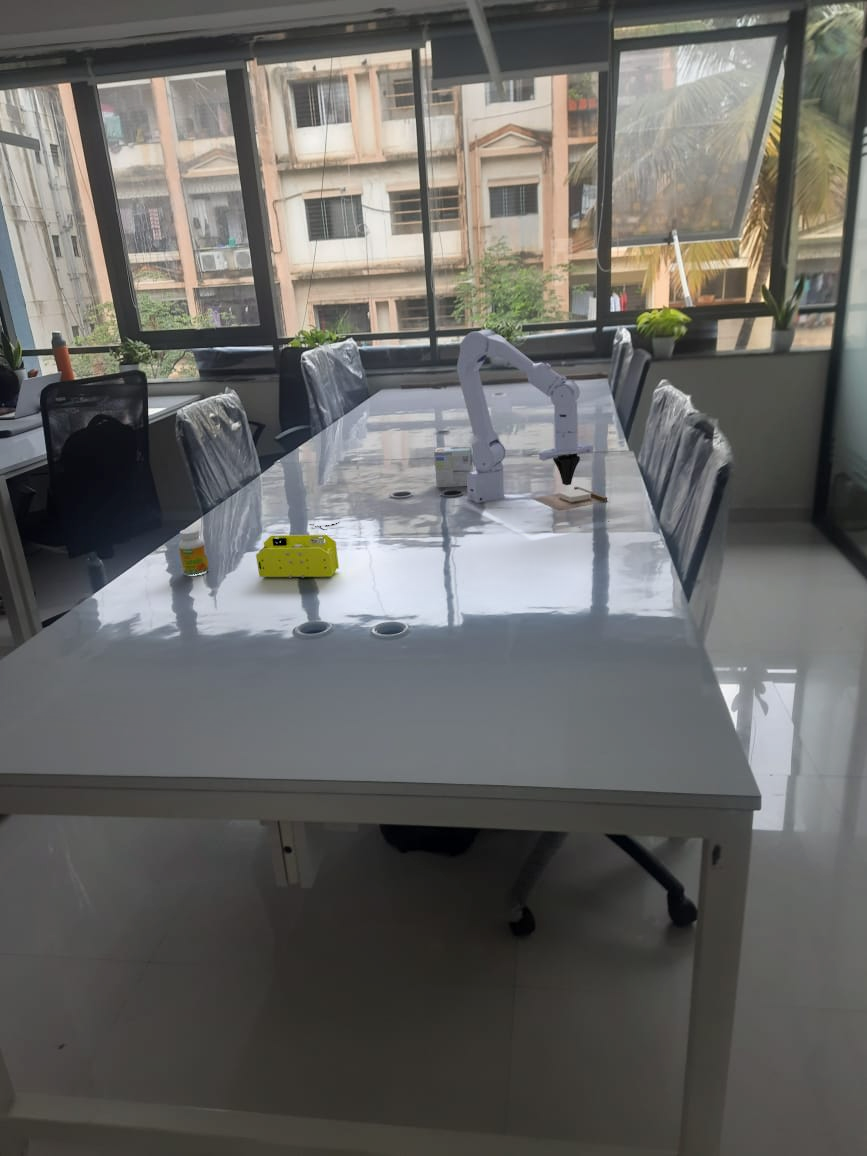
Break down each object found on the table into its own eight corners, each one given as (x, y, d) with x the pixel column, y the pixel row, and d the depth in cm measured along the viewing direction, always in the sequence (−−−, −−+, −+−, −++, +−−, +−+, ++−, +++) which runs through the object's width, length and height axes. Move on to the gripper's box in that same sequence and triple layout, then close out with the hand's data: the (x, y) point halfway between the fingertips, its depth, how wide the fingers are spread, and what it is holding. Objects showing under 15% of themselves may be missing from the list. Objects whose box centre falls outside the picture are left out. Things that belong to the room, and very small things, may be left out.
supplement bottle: (184, 578, 171) (175, 535, 168) (184, 571, 176) (176, 529, 172) (209, 574, 172) (201, 532, 169) (209, 567, 177) (201, 525, 174)
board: (559, 514, 196) (559, 506, 195) (531, 502, 208) (531, 494, 207) (607, 505, 201) (607, 497, 200) (577, 494, 213) (577, 486, 212)
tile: (570, 497, 200) (591, 493, 202) (558, 492, 206) (578, 488, 208) (570, 503, 201) (591, 499, 203) (558, 498, 206) (578, 494, 208)
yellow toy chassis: (339, 571, 169) (335, 533, 166) (332, 580, 164) (327, 542, 161) (269, 571, 172) (263, 534, 169) (259, 580, 167) (253, 543, 164)
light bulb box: (473, 480, 236) (471, 445, 232) (472, 486, 230) (470, 449, 226) (438, 482, 237) (435, 446, 234) (436, 488, 231) (433, 451, 227)
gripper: (548, 437, 192) (549, 491, 196) (599, 429, 196) (599, 482, 201) (534, 433, 198) (536, 486, 203) (584, 425, 203) (584, 477, 207)
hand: (566, 484), depth 202 cm, fingers closed
